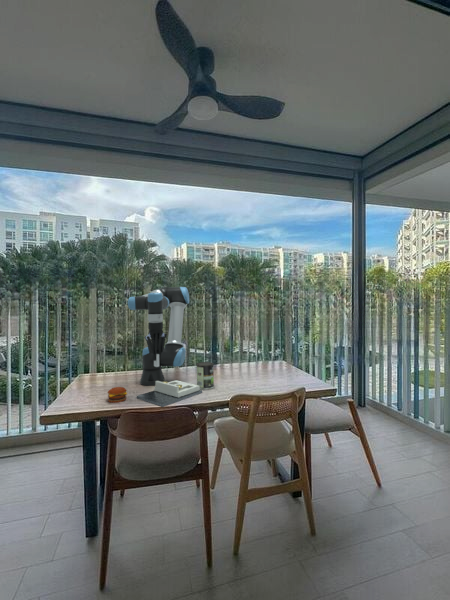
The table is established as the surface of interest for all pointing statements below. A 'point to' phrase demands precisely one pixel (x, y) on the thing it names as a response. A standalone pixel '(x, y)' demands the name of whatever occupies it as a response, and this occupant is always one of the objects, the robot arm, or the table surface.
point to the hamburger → (117, 394)
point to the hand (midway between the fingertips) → (156, 366)
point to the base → (164, 397)
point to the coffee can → (205, 375)
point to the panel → (175, 388)
